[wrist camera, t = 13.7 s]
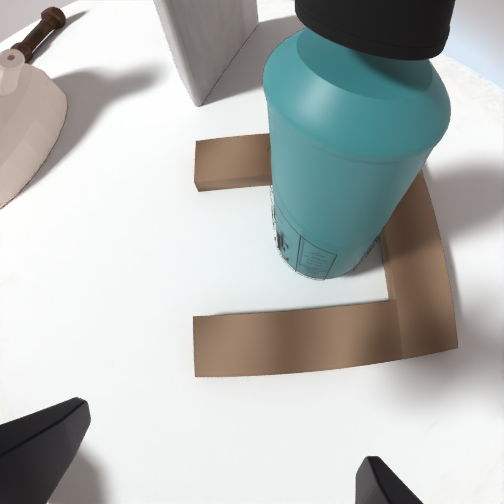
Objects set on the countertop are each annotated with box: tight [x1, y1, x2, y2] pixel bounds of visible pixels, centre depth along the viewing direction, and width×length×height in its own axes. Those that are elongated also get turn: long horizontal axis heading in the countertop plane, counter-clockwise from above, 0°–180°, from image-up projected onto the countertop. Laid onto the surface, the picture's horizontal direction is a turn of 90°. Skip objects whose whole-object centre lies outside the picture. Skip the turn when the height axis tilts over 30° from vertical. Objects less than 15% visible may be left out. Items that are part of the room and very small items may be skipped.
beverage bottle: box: [263, 0, 455, 280], centre depth 14 cm, size 6×7×20 cm
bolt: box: [10, 7, 66, 63], centre depth 37 cm, size 6×5×15 cm
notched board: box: [193, 133, 458, 377], centre depth 23 cm, size 18×18×2 cm
